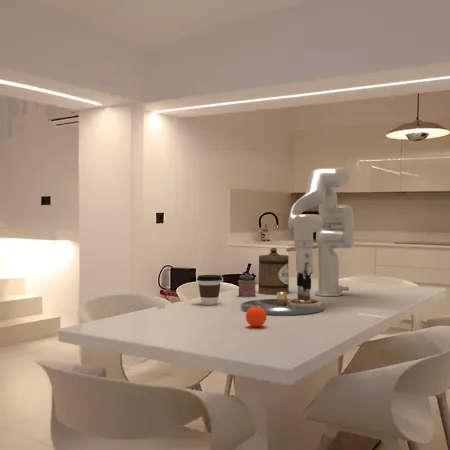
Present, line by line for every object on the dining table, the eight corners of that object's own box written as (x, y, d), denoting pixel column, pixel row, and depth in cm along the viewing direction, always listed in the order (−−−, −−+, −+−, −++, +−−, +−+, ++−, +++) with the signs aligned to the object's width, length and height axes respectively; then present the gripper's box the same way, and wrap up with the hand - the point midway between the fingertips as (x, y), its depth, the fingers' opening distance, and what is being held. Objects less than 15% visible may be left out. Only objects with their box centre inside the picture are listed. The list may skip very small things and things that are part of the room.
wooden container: (288, 294, 259) (287, 248, 259) (257, 294, 262) (256, 248, 261) (289, 290, 274) (289, 247, 274) (260, 290, 276) (259, 247, 276)
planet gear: (312, 302, 226) (311, 285, 225) (318, 305, 216) (318, 288, 216) (290, 302, 225) (290, 285, 225) (295, 306, 215) (295, 288, 215)
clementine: (255, 323, 188) (255, 302, 188) (272, 325, 184) (272, 304, 184) (241, 327, 182) (241, 305, 182) (258, 329, 178) (258, 307, 178)
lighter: (255, 296, 256) (255, 274, 256) (255, 297, 252) (255, 275, 252) (238, 296, 256) (238, 274, 256) (238, 297, 253) (237, 275, 253)
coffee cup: (219, 306, 226) (219, 277, 226) (193, 305, 228) (193, 277, 228) (224, 302, 237) (224, 274, 237) (200, 301, 239) (200, 274, 239)
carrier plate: (311, 301, 238) (311, 286, 238) (334, 314, 205) (334, 297, 205) (236, 303, 234) (236, 288, 234) (247, 316, 201) (247, 299, 201)
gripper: (318, 246, 212) (318, 290, 212) (307, 244, 229) (307, 284, 229) (299, 246, 211) (299, 290, 211) (289, 244, 228) (290, 285, 229)
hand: (303, 287), depth 220 cm, fingers open, 9 cm apart
